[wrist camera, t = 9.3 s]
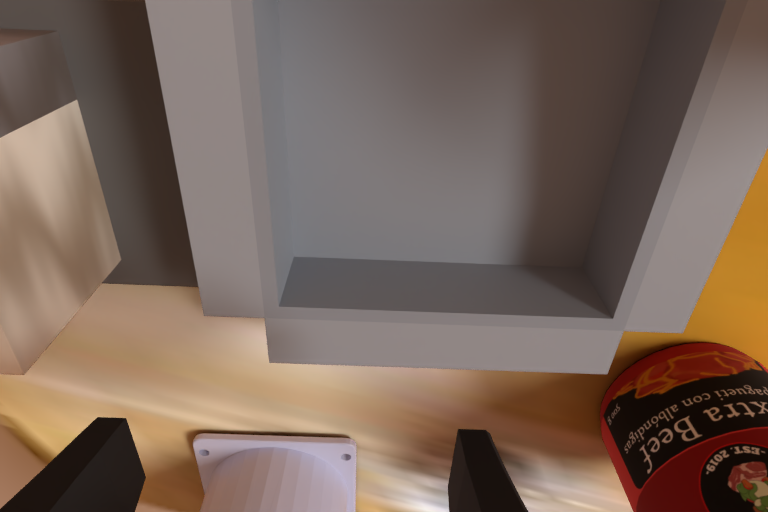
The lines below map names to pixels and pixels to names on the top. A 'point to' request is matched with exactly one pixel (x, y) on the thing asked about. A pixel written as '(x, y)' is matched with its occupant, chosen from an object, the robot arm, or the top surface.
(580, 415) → the top surface
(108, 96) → the rubber mat
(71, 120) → the maple block
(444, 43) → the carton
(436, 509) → the top surface
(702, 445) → the canned food
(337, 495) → the robot arm
